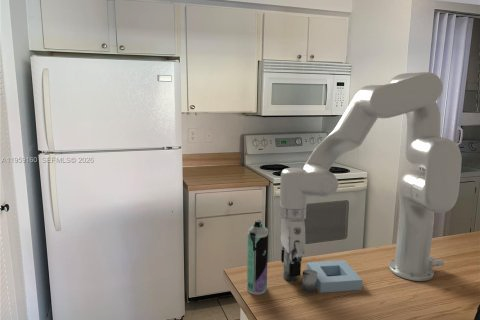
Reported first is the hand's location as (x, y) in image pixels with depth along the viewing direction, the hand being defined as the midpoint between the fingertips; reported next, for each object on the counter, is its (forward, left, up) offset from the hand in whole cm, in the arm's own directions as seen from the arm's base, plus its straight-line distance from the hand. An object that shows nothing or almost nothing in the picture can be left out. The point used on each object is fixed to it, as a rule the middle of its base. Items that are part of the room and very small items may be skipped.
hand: (290, 268), depth 108 cm
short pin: (-4, +7, -3) cm, 8 cm away
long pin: (0, 0, -3) cm, 3 cm away
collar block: (-12, +3, -3) cm, 13 cm away
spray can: (+11, +5, -3) cm, 13 cm away
